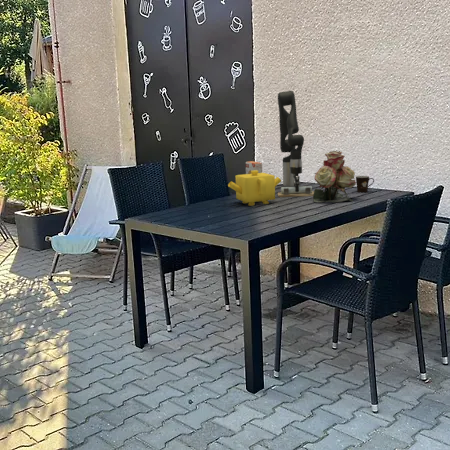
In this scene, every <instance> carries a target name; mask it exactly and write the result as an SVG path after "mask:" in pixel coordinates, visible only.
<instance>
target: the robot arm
mask: <svg viewBox="0 0 450 450" xmlns="http://www.w3.org/2000/svg"><path fill="white" fill-rule="evenodd" d="M295 95H296V94H295V93H294V91H293V90H288V91H287V90H286V91H281V92H278V93H277V105H278V113H279V116H278V119H279V132H280V133H279V134H280V135H279V137H280V138H279V141H280V142H279V145H280V146H279V147H280V151H281V153H290V154H288V155H287V156H285V157H282V185H283V186H282V187H295V191H296V192H299V187H300V186H301V185H300V184H301V183H300V182H301V181H300V178H301V177H300V174H302V173H303V159H302V151H303V147H304V142H305V137H304V136H303V135H302V134H297V133H299V132H300V128H299V124H298V118H297V105H296V96H295ZM287 106H290V111H289V112H288V111H287V110H286V108H285V107H287Z"/></svg>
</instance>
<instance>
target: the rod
mask: <svg viewBox="0 0 450 450" xmlns="http://www.w3.org/2000/svg"><path fill="white" fill-rule="evenodd" d="M309 187H310V193H312V191H313V187H312V185H304V186H303V185H302V186H301V185H300V186H299V192H296V191H295V187H294V186H281V187H280V193H281V194H284V188H289V194H294V193H305V188H309Z"/></svg>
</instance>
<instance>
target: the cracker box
mask: <svg viewBox="0 0 450 450" xmlns="http://www.w3.org/2000/svg"><path fill="white" fill-rule="evenodd" d="M253 170H257V171H258V173H263V162H258V161H254V160H252V161H251V160H249V161H246V162H245V174H252V173H251V171H253Z"/></svg>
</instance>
